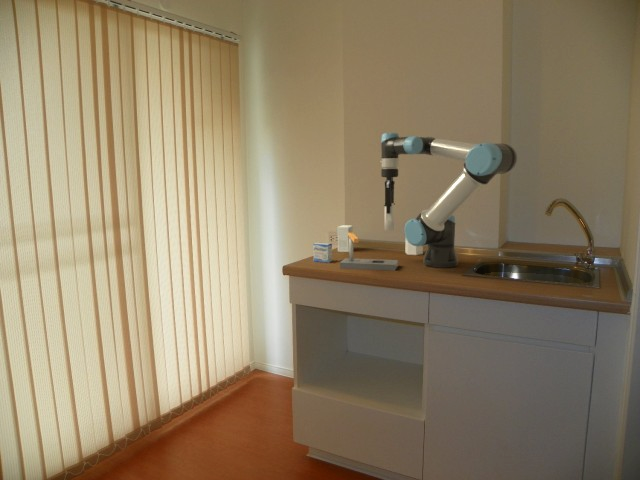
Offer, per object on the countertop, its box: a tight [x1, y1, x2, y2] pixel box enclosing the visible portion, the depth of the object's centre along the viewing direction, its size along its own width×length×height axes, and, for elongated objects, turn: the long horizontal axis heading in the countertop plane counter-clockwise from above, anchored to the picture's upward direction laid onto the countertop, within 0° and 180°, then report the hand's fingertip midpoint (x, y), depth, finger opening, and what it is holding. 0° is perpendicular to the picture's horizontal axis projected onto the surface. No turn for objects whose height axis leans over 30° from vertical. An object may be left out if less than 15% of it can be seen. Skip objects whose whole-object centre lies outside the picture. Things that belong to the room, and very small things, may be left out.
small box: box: [336, 224, 354, 253], centre depth 259 cm, size 8×6×13 cm
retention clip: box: [348, 232, 359, 244], centre depth 209 cm, size 17×3×2 cm, turn 4°
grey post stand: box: [339, 237, 399, 272], centre depth 215 cm, size 24×10×14 cm, turn 74°
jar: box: [404, 237, 424, 256], centre depth 247 cm, size 9×8×12 cm
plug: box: [384, 202, 395, 231], centre depth 223 cm, size 4×4×13 cm
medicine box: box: [312, 242, 333, 264], centre depth 232 cm, size 8×4×9 cm, turn 62°
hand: (389, 219), depth 224 cm, fingers closed on plug, 4 cm apart
